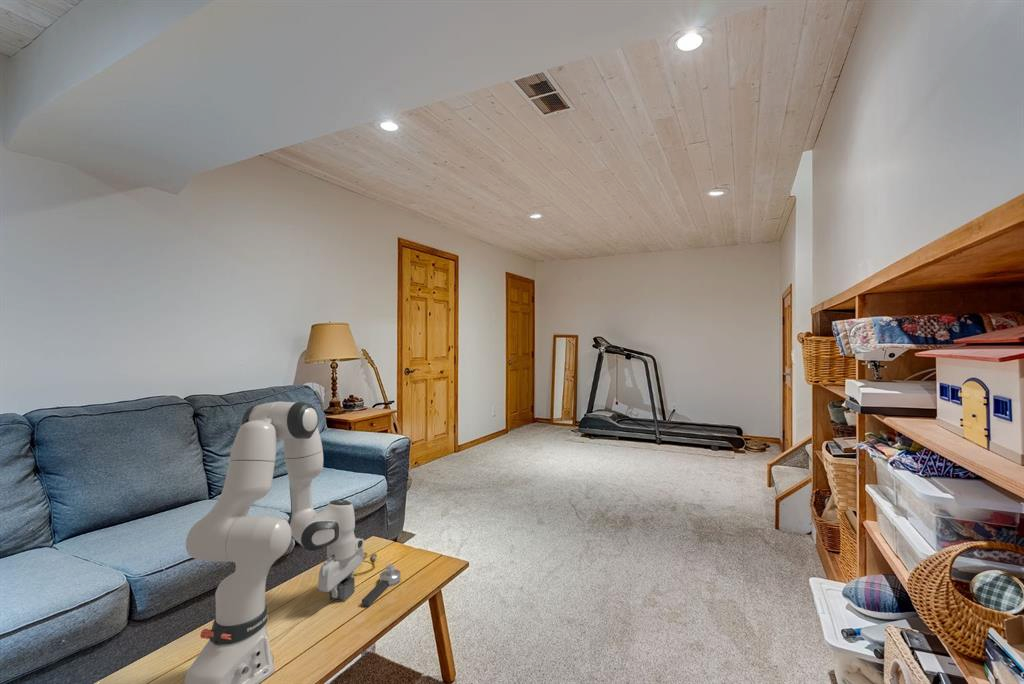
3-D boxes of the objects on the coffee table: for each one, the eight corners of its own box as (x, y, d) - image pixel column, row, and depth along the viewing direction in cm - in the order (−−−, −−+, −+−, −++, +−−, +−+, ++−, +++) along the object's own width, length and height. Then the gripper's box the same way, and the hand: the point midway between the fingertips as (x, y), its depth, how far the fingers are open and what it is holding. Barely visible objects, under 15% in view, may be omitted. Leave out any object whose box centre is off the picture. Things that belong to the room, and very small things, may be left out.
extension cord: (389, 561, 178) (389, 556, 178) (357, 580, 164) (357, 574, 164) (366, 555, 184) (366, 550, 184) (334, 572, 170) (333, 567, 170)
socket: (344, 601, 150) (344, 586, 150) (329, 599, 151) (329, 584, 151) (354, 592, 155) (354, 577, 155) (339, 590, 156) (339, 575, 156)
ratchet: (375, 607, 146) (374, 590, 146) (355, 605, 147) (355, 588, 147) (404, 577, 165) (403, 561, 165) (386, 575, 166) (386, 560, 166)
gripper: (330, 564, 142) (330, 609, 142) (366, 537, 162) (367, 577, 162) (312, 563, 144) (313, 607, 144) (350, 536, 164) (351, 575, 164)
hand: (342, 591), depth 153 cm, fingers closed on socket, 6 cm apart
